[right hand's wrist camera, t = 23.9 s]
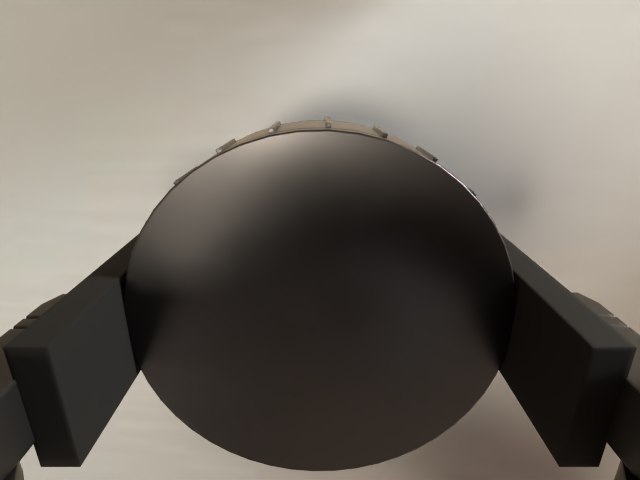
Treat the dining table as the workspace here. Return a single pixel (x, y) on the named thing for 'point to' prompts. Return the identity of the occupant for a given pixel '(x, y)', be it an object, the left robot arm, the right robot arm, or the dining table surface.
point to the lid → (319, 297)
